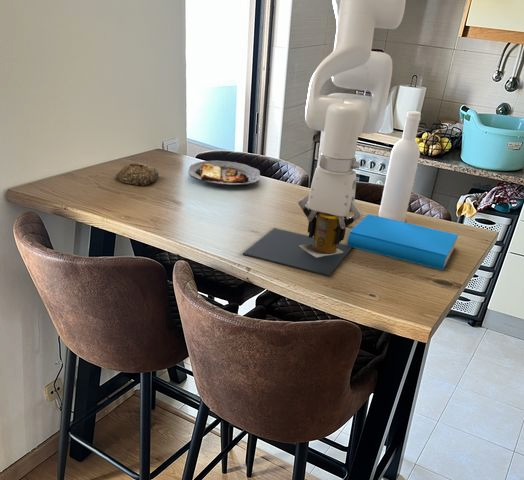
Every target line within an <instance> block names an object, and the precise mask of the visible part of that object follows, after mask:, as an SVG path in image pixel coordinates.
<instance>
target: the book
mask: <svg viewBox="0 0 524 480" xmlns="http://www.w3.org/2000/svg"><path fill="white" fill-rule="evenodd" d="M458 238H459V234H457V233H453V232H448V231H444V230H440V229H434V228H430V227H425V226H421V225H417V224H412V223H409V222H406V221H405V222H400V221H396V220H392V219H387V218H383V217H379V215H374V214H369V213H368V214H366V215H365V217H363V218H362V219H361V220H360V221H359V222H358V223H357V224H356V225H355V226H354V227H352V229H350V231H349V232H348V236H347V242H346V243H347V244H346V245H348V246H352V247H353V249H354V248H355V249H358V250H362V251H366V252H369V253H374V254H378V255H381V256H386V257H390V258H393V259H397V260H401V261H405V262H409V263H413V264H417V265H421V266H424V267H429V268H433V269H437V270H440V271H444V270H445V267H446V265H447V263H448V262H449V259H450V258H451V256H452V255H453V252H454V251H455V248H456V244H457V240H458Z"/></svg>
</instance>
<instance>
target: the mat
mask: <svg viewBox="0 0 524 480" xmlns="http://www.w3.org/2000/svg"><path fill="white" fill-rule="evenodd" d="M313 238H314V236H313V237H312V238H309V235H305V234H301V233H298V232H297V233H296V232H292V231H288V230H284V229H280V228H276V227H275V228H273V229H272V230H270V231H269V232H267V233H266V234H265V235H264V236H262V237H261V238H260V239H259V240H258V241H256V242H255V243H254V244H252V246H250V247H249V248H247V249H246V250H245V251H244V252H242V255H243V256H247V257H250V258H255V259H258V260H263V261H266V262H270V263H274V264H278V265H281V266H286V267H290V268H294V269H297V270H301V271H306V272H309V273H313V274H317V275H322V276H325V277H328V278H330V276H331V275H332V274H333V273H334V272H335V271H336V270H337V268H338V267H339V266H340V264H342V262H343V261H344V260H345V258H346V257H348V255H349V254H350V252H351V251H352V250H353V249H354V248H353V247H352V246H348V245H347V244H345V243H344V244H343V243H339V244H337V249H339V250H341V251H343V253H339V254H333V255H326V256H322V257H317V258H316V257H315V256H313V255H312V254H310V253H308V252H307V251H305V250H304V249H302V248H301V247H300V246H299V245H306V244H312V243H313Z"/></svg>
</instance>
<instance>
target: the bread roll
mask: <svg viewBox="0 0 524 480" xmlns="http://www.w3.org/2000/svg"><path fill="white" fill-rule="evenodd" d="M115 178H116V180H118V181H119V182H121V183H124V184H127V185H134V186H137V187H138V186H139V187H144V186H147V185H150V184H152V183H154V182H155V181H157V179H158V178H159V172H158V171H157V169H156V168H155V167H153V166H149V165H148V164H145V163H137V162H136V163H135V162H133V163H129V164H126V165H124V166H123V168H121V169H120V170H119V171H118V172H117V173H116V174H115Z"/></svg>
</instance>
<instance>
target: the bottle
mask: <svg viewBox="0 0 524 480" xmlns="http://www.w3.org/2000/svg"><path fill="white" fill-rule="evenodd" d="M421 116H422V113H421V112H420V111H417V110H408V111H407V113H406V115H405V120H404V121H405V122H404V127H403V132H402V136H401V138H400V139H399V140H397V141H396V142H395V144H394V145H393V147H392V149H391V152H390V158H389V161H388V166H387V170H386V171H387V172H386V177H385V181H384V182H385V183H384V186H383V191H382V196H381V201H380V206H379V210H378V216H379V217H383V218H387V219H392V220H396V221H400V222H405V223H406V220H407V219H406V218H407V215H408V209H409V204H410V200H411V195H412V191H413V186H414V183H415V179H416V178H415V177H416V173H417V169H418V165H419V160H420V156H421V150H420V149H421V148H420V145H419V144H418V142H417V140H416V138H417V134H418V130H419V126H420V125H419V124H420V122H421V119H422V118H421Z"/></svg>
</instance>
